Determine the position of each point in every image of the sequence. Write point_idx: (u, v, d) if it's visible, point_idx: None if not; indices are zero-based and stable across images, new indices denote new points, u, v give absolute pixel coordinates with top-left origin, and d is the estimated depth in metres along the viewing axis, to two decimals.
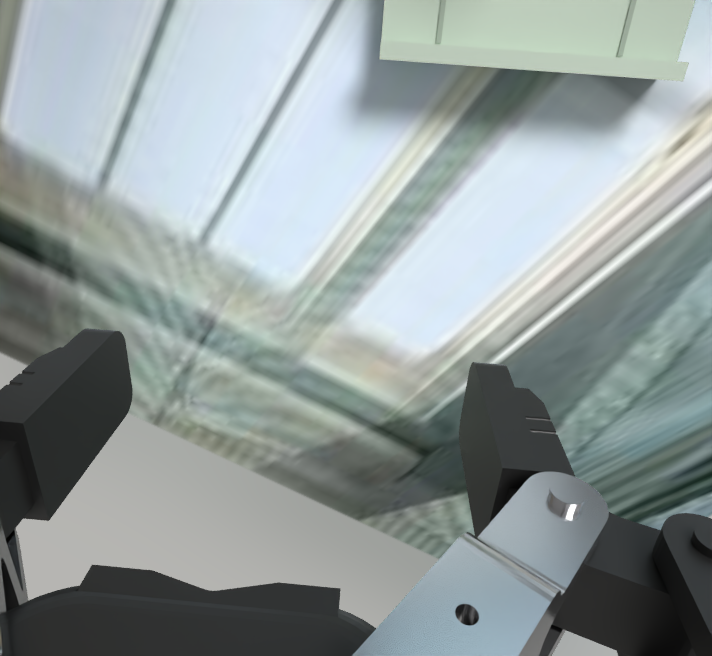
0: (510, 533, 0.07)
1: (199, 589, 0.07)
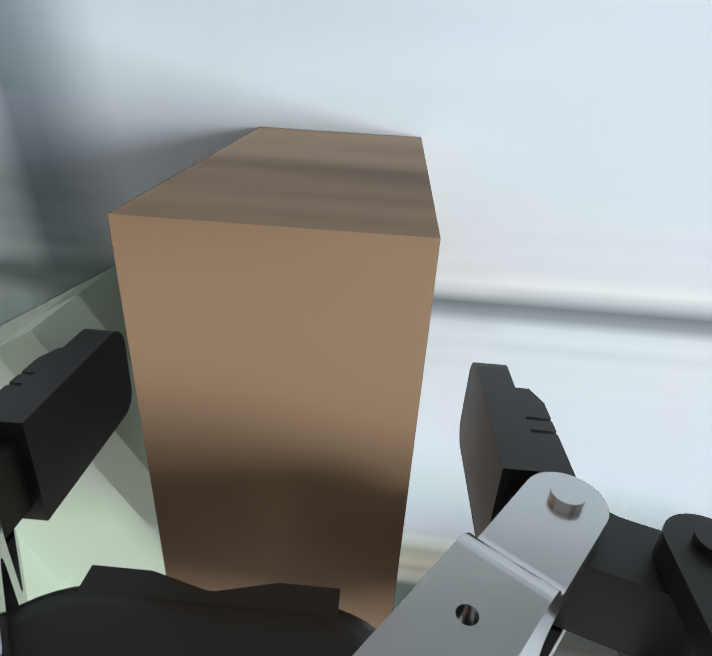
0: (511, 533, 0.07)
1: (199, 589, 0.07)
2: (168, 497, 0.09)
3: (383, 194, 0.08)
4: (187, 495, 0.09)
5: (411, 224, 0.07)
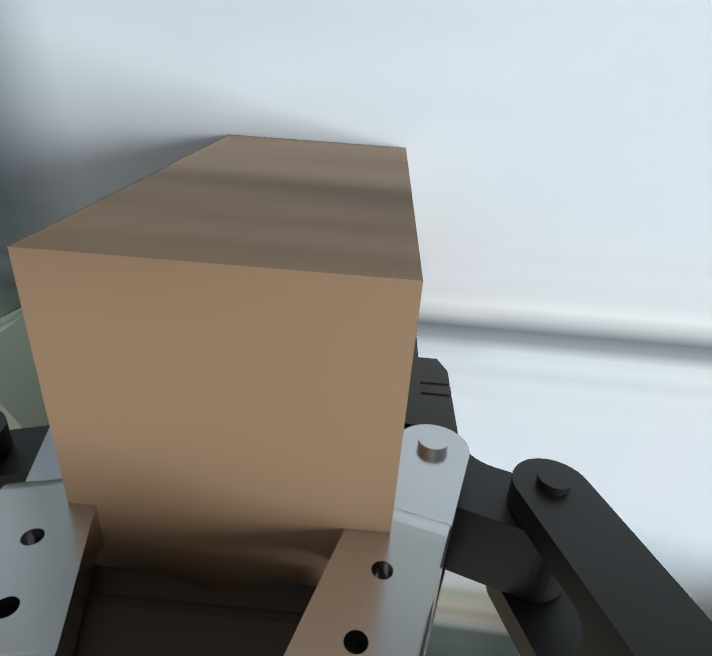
0: None
1: (199, 589, 0.07)
2: None
3: (357, 219, 0.07)
4: None
5: (388, 259, 0.06)
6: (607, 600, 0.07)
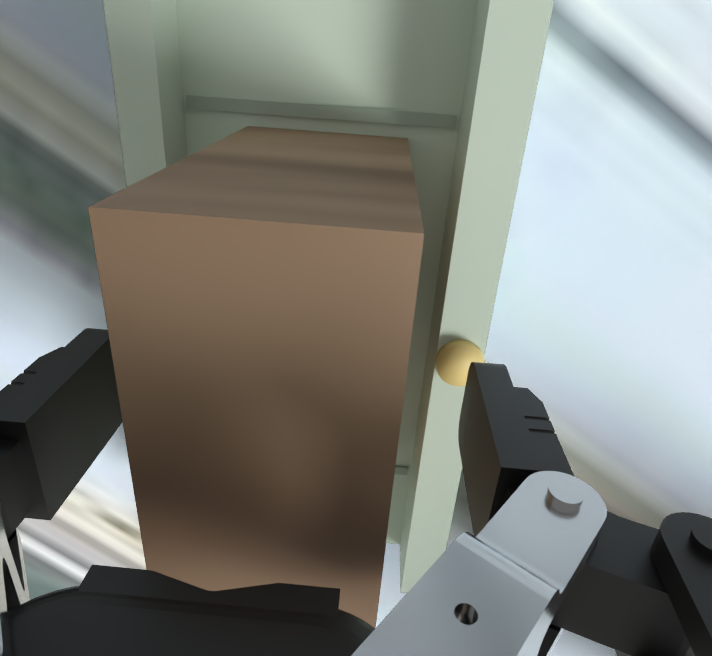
0: (508, 532, 0.07)
1: (199, 589, 0.07)
2: (150, 497, 0.09)
3: (368, 191, 0.08)
4: (169, 494, 0.09)
5: (395, 220, 0.07)
6: None
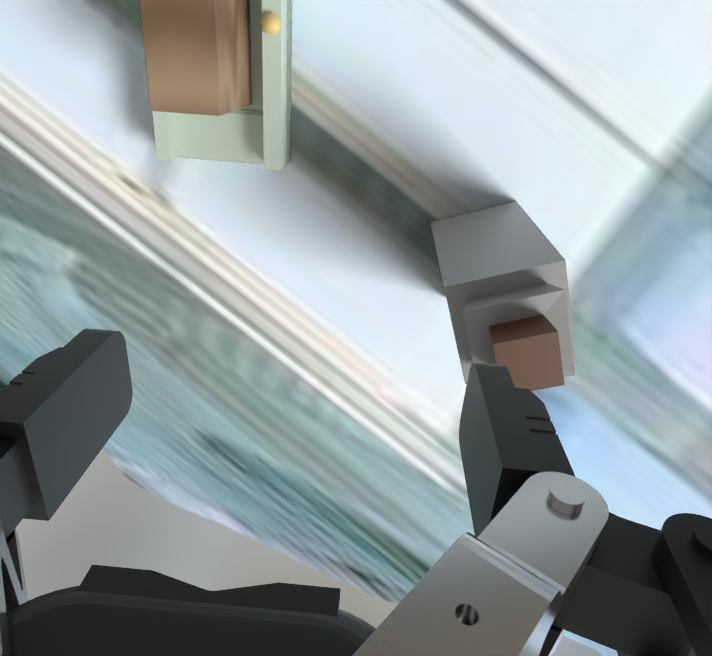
0: (510, 533, 0.07)
1: (199, 589, 0.07)
2: (144, 1, 0.29)
3: None
4: (150, 0, 0.29)
5: None
6: None
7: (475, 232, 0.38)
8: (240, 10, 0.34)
